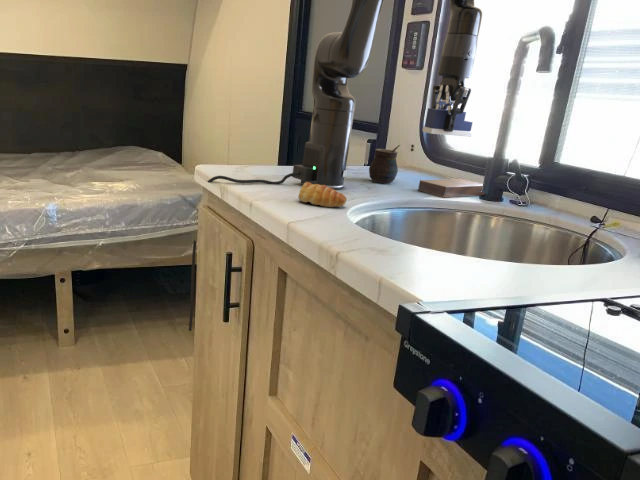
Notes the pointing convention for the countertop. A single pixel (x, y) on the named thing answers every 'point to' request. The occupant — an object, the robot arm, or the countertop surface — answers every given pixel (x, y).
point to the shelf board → (451, 187)
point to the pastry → (321, 195)
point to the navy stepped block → (437, 122)
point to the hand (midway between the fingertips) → (442, 129)
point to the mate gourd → (384, 166)
